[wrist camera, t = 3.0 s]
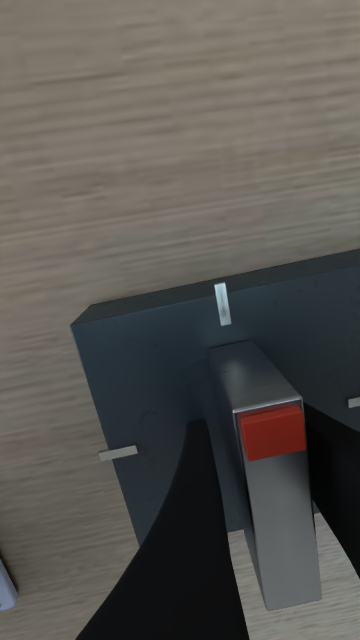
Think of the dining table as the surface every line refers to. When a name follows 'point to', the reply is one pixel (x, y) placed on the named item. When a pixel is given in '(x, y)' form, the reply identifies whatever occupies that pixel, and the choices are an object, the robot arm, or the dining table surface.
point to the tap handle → (268, 471)
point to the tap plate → (194, 371)
